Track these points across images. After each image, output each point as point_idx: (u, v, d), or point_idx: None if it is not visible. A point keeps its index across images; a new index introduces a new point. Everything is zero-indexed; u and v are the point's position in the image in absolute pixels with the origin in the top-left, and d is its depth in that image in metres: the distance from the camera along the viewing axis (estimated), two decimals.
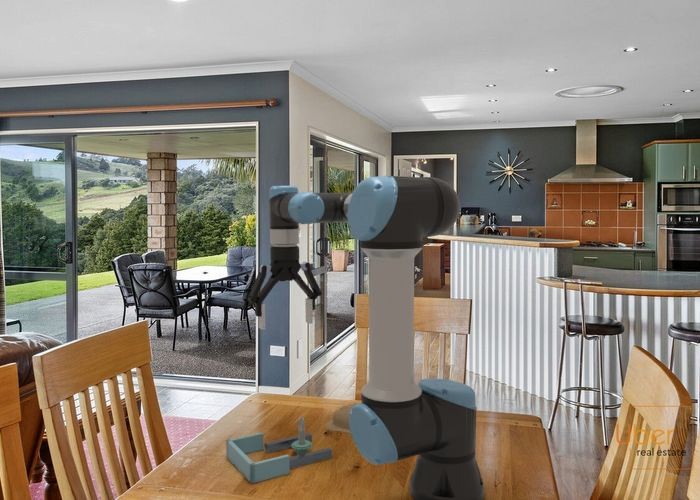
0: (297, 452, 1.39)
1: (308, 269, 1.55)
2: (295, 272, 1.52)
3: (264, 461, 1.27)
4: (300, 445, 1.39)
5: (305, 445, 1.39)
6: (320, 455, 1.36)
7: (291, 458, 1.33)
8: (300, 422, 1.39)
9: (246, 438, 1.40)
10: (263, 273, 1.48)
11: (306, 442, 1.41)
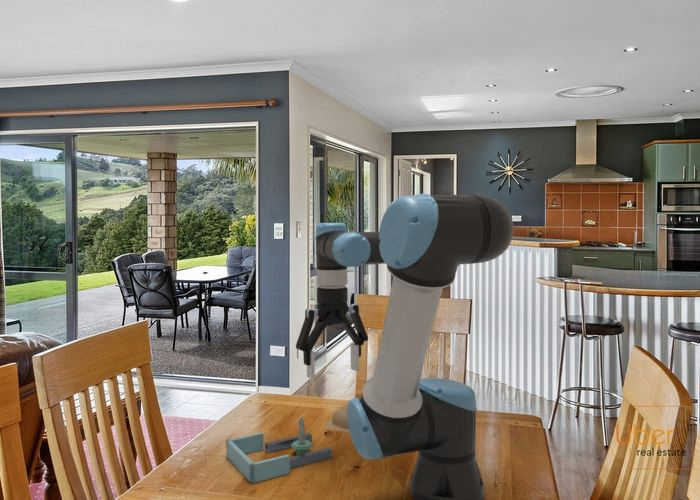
0: (297, 452, 1.39)
1: (356, 312, 1.44)
2: (343, 315, 1.42)
3: (264, 461, 1.27)
4: (300, 445, 1.39)
5: (305, 445, 1.39)
6: (320, 455, 1.36)
7: (291, 458, 1.33)
8: (300, 422, 1.39)
9: (246, 438, 1.40)
10: (311, 318, 1.38)
11: (306, 442, 1.40)
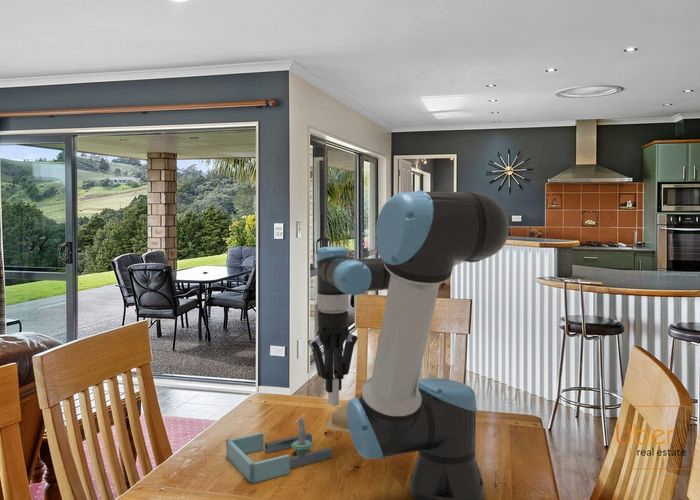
0: (297, 452, 1.39)
1: (352, 342, 1.44)
2: (342, 340, 1.42)
3: (264, 461, 1.27)
4: (301, 445, 1.39)
5: (305, 445, 1.39)
6: (320, 455, 1.36)
7: (291, 458, 1.33)
8: (300, 422, 1.39)
9: (246, 438, 1.40)
10: (317, 349, 1.39)
11: (306, 442, 1.41)
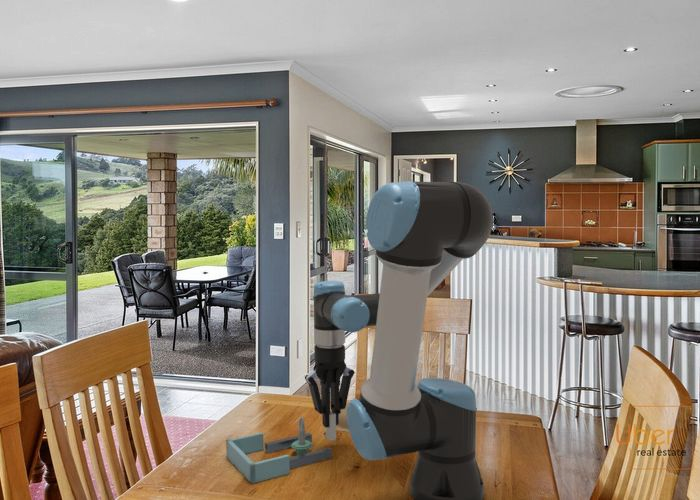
0: (297, 452, 1.39)
1: (349, 376, 1.44)
2: (338, 375, 1.42)
3: (264, 461, 1.27)
4: (301, 445, 1.39)
5: (305, 445, 1.39)
6: (320, 455, 1.36)
7: (291, 458, 1.33)
8: (300, 422, 1.39)
9: (246, 438, 1.40)
10: (313, 384, 1.39)
11: (306, 442, 1.41)
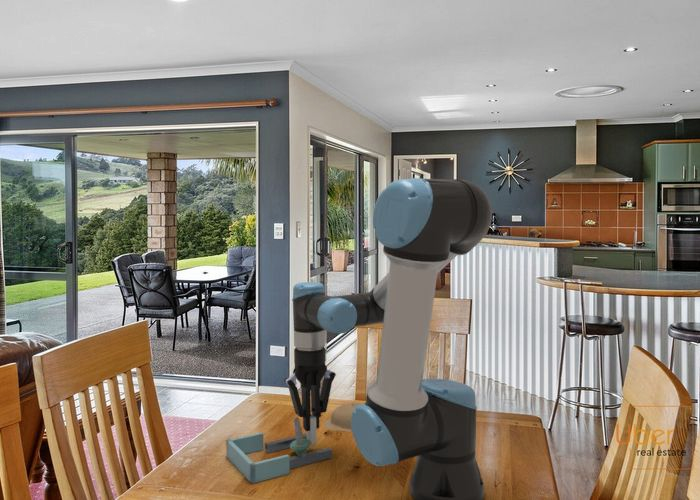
0: (296, 452, 1.39)
1: (330, 379, 1.42)
2: (319, 378, 1.39)
3: (264, 461, 1.27)
4: (299, 445, 1.39)
5: (303, 445, 1.39)
6: (320, 455, 1.36)
7: (291, 458, 1.33)
8: (295, 423, 1.39)
9: (246, 438, 1.40)
10: (293, 388, 1.37)
11: (304, 441, 1.40)
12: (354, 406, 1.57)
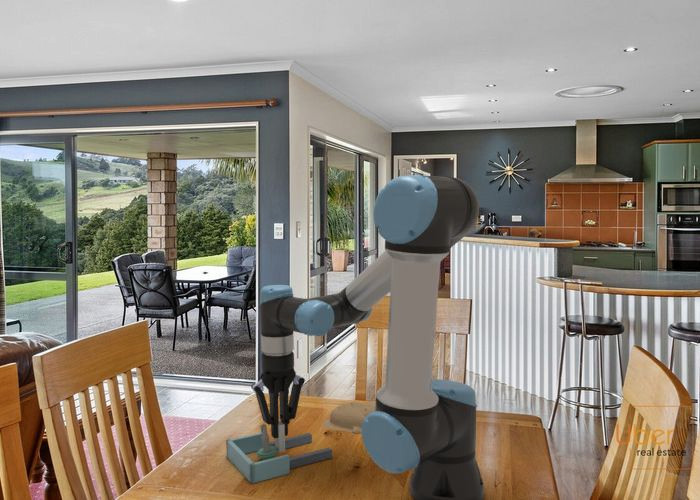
0: None
1: (299, 385, 1.38)
2: (287, 384, 1.35)
3: (264, 461, 1.27)
4: (265, 452, 1.35)
5: (269, 452, 1.34)
6: (320, 455, 1.36)
7: (291, 458, 1.33)
8: (262, 429, 1.35)
9: (246, 438, 1.40)
10: (260, 394, 1.32)
11: (272, 449, 1.36)
12: (353, 406, 1.57)
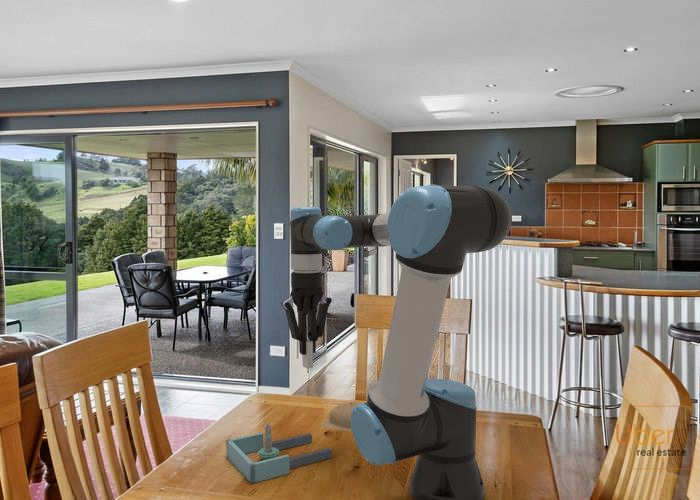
0: None
1: (327, 304, 1.43)
2: (315, 302, 1.40)
3: (264, 461, 1.27)
4: (266, 452, 1.35)
5: (271, 453, 1.35)
6: (320, 455, 1.36)
7: (291, 458, 1.33)
8: (266, 429, 1.35)
9: (246, 438, 1.40)
10: (290, 310, 1.38)
11: (273, 450, 1.36)
12: (352, 405, 1.57)
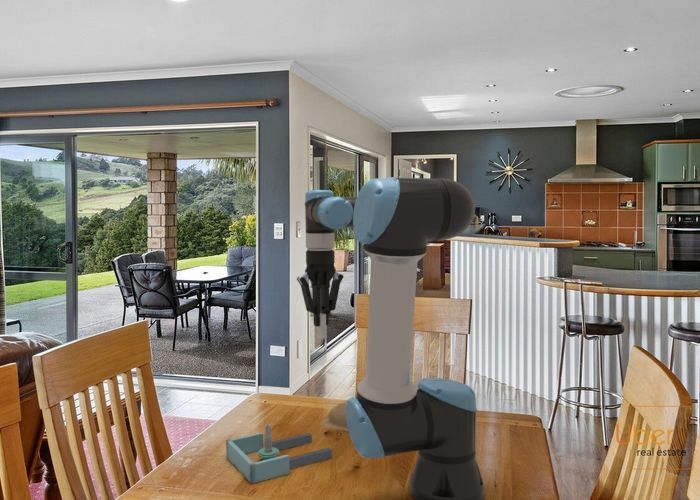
0: None
1: (339, 280, 1.55)
2: (328, 277, 1.53)
3: (264, 461, 1.27)
4: (266, 452, 1.35)
5: (271, 453, 1.35)
6: (320, 455, 1.36)
7: (291, 458, 1.33)
8: (266, 429, 1.35)
9: (246, 438, 1.40)
10: (305, 284, 1.50)
11: (273, 450, 1.36)
12: None
